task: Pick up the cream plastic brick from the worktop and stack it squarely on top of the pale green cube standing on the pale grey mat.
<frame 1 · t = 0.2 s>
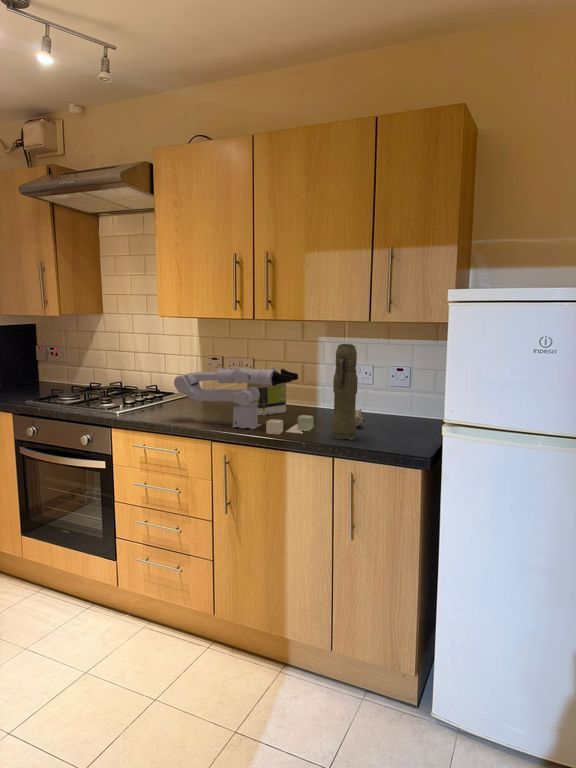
hand: (294, 377, 207), 21 cm above the worktop, tool horizontal, fingers open, 7 cm apart
pale green cube: (305, 429, 212), resting on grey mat
tea box: (266, 413, 245), on the worktop
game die: (353, 428, 217), on the worktop
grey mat: (305, 430, 212), on the worktop
stone moai statue: (343, 438, 200), on the worktop
cream brick: (274, 433, 206), on the worktop
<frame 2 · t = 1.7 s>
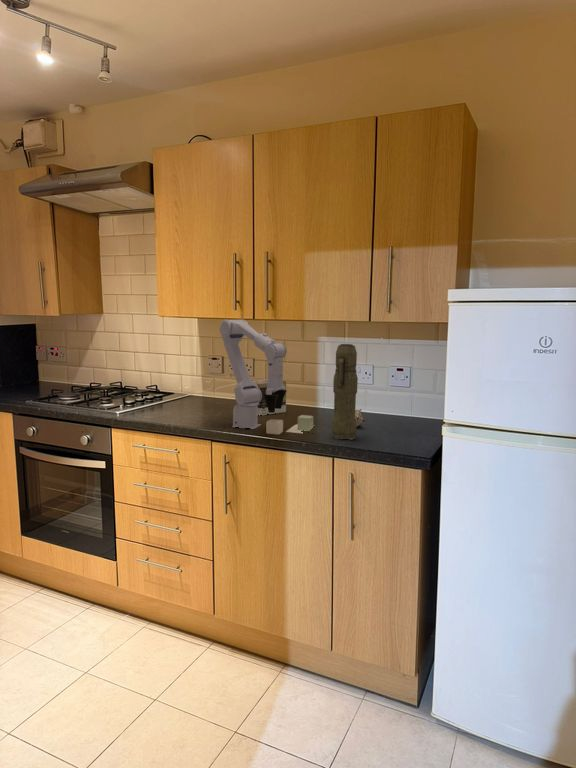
hand: (275, 410, 205), 9 cm above the worktop, tool pointing down, fingers open, 7 cm apart
nothing on the worktop moved.
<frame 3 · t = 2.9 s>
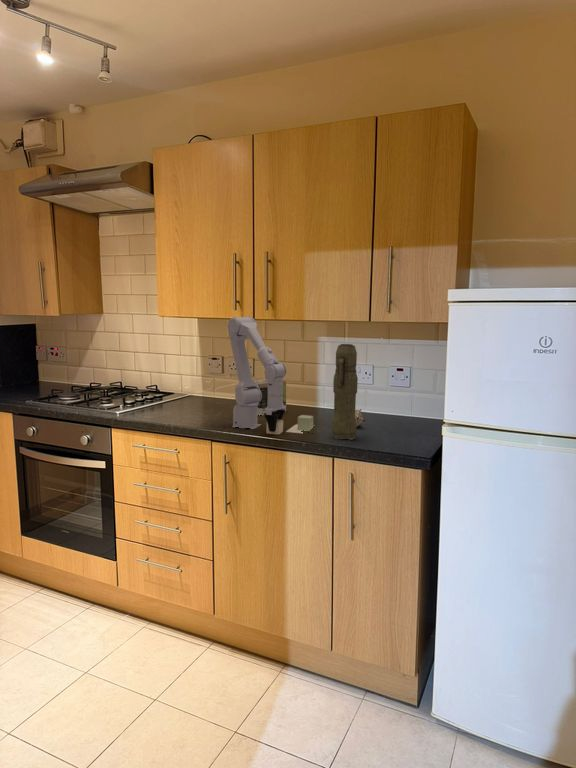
hand: (274, 429, 206), 1 cm above the worktop, tool pointing down, fingers closed on cream brick, 5 cm apart
cream brick: (274, 433, 206), on the worktop, touching gripper
everything else where it was.
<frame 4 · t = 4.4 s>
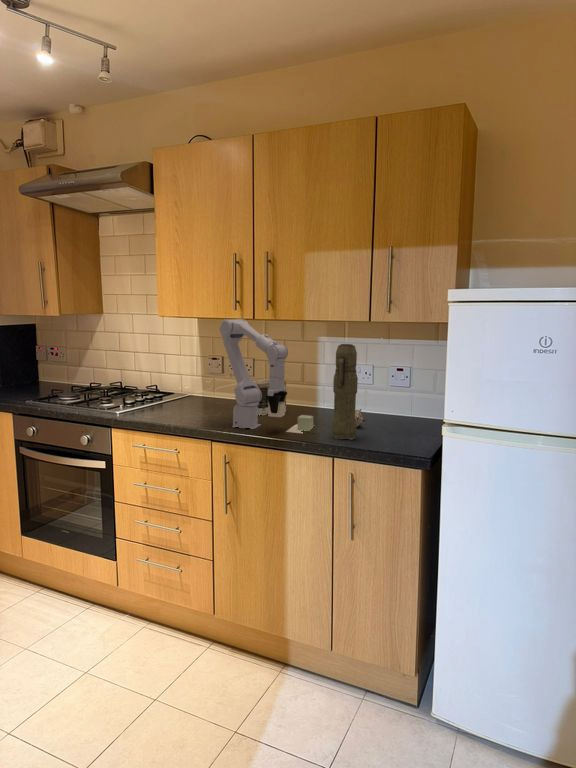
hand: (276, 411, 205), 8 cm above the worktop, tool pointing down, fingers closed on cream brick, 5 cm apart
cream brick: (276, 415, 205), point 7 cm above the worktop, touching gripper
everything else where it was.
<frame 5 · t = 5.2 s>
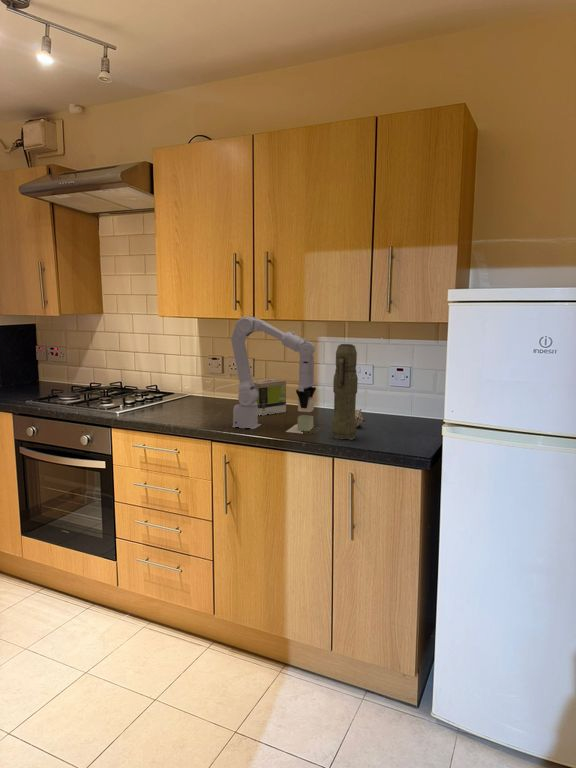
hand: (305, 406, 211), 9 cm above the worktop, tool pointing down, fingers closed on cream brick, 5 cm apart
cream brick: (305, 410, 211), point 8 cm above the worktop, touching gripper
everything else where it was.
when the fingers open (8 cm above the worktop, at t = 6.0 s): cream brick stays where it is, resting on pale green cube.
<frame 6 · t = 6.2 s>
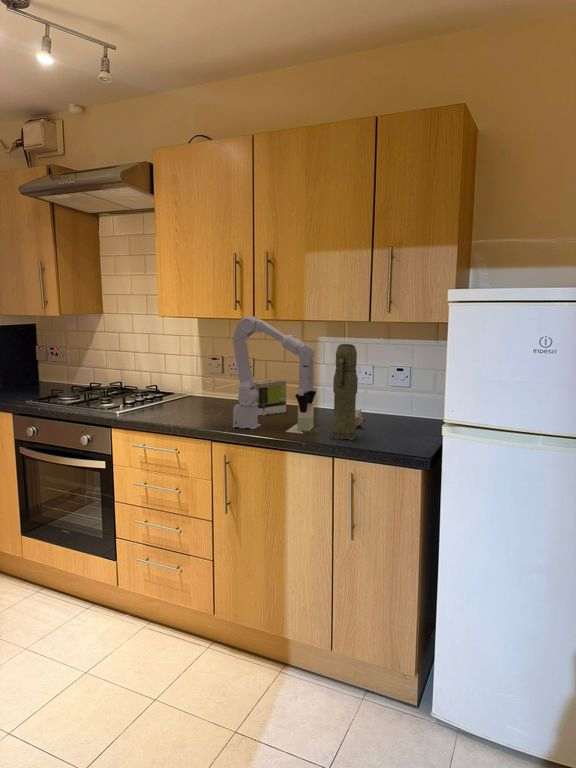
hand: (305, 410, 211), 8 cm above the worktop, tool pointing down, fingers open, 6 cm apart
pale green cube: (305, 429, 212), resting on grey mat, touching cream brick
cream brick: (305, 416, 211), point 5 cm above the worktop, touching pale green cube
everything else where it was.
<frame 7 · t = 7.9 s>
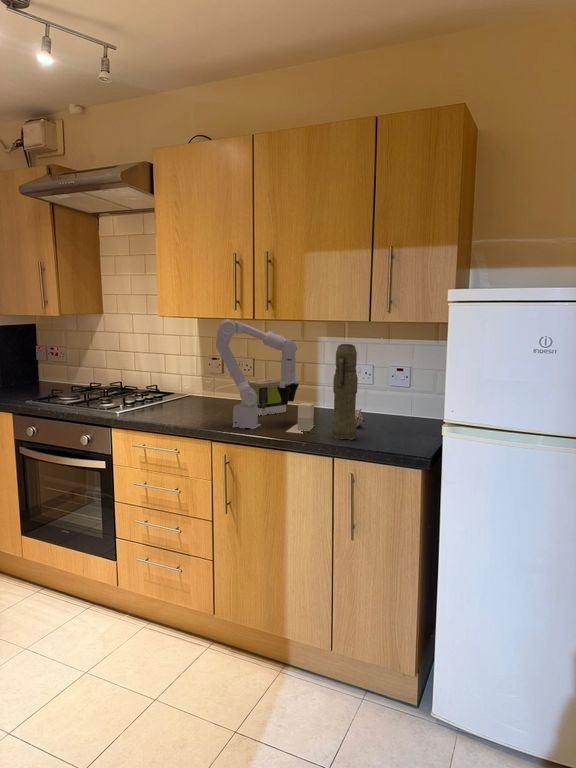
hand: (287, 402, 217), 10 cm above the worktop, tool pointing down, fingers open, 7 cm apart
nothing on the worktop moved.
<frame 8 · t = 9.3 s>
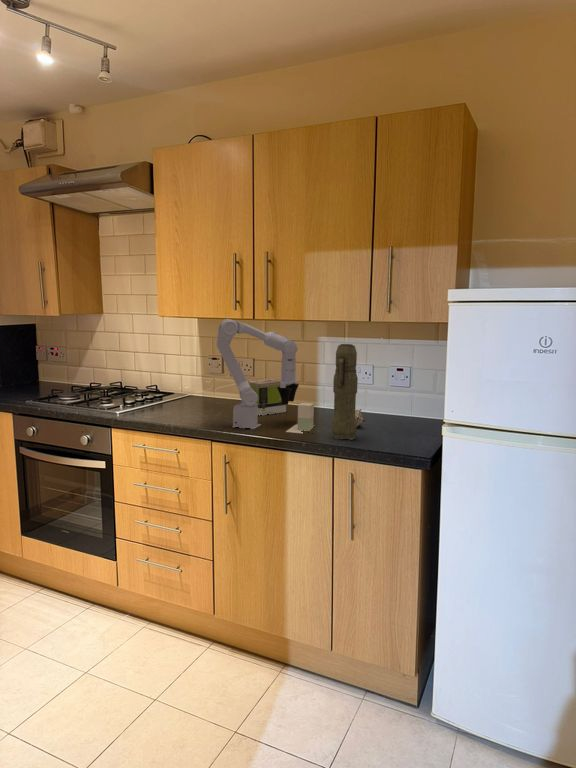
hand: (288, 402, 218), 9 cm above the worktop, tool pointing down, fingers open, 7 cm apart
nothing on the worktop moved.
at the end: cream brick 0.1 cm off-centre on the pale green cube, point 5.0 cm above the pale green cube's base; cream brick tilted 0°; the gripper is holding nothing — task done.
